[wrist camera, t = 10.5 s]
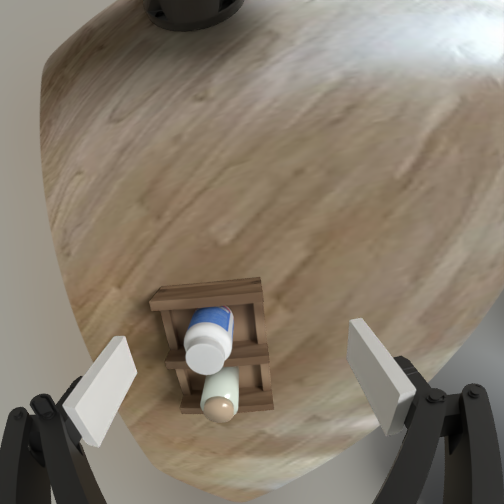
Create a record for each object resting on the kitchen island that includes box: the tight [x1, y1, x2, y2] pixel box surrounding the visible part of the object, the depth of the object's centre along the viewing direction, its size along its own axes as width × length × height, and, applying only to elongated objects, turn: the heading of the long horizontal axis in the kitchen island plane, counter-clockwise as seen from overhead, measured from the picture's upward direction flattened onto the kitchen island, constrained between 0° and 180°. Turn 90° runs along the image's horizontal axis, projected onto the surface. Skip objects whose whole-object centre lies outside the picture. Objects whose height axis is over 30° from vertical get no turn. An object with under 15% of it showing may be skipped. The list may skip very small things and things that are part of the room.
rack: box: [149, 277, 274, 414], centre depth 35 cm, size 18×13×6 cm
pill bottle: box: [184, 306, 234, 375], centre depth 31 cm, size 6×5×10 cm
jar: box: [200, 366, 239, 423], centre depth 33 cm, size 5×5×9 cm
